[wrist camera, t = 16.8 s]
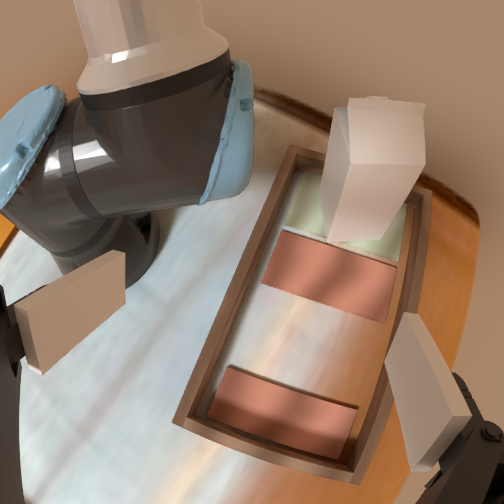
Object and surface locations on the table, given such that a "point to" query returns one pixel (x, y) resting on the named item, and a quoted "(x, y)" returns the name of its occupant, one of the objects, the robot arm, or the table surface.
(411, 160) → the milk carton
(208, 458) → the table surface
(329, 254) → the box
